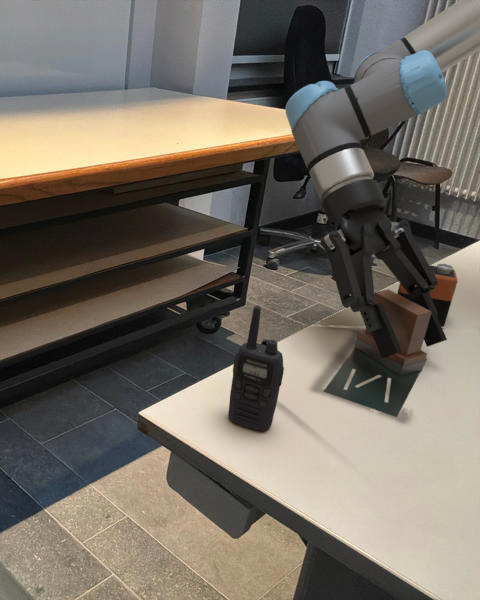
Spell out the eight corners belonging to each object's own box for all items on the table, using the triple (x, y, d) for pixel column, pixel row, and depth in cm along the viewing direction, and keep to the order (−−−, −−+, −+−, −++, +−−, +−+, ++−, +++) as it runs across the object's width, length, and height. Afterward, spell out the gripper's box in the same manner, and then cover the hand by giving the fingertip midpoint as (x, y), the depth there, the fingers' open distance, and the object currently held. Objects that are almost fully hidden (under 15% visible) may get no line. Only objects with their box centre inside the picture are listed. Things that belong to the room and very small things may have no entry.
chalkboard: (356, 342, 96) (358, 335, 96) (431, 365, 91) (434, 357, 91) (314, 399, 83) (315, 391, 83) (399, 430, 78) (401, 422, 78)
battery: (441, 336, 99) (460, 274, 94) (391, 327, 101) (407, 265, 96) (439, 323, 102) (457, 262, 98) (391, 314, 104) (406, 255, 100)
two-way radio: (222, 421, 79) (238, 307, 72) (234, 402, 82) (251, 291, 76) (268, 437, 76) (290, 320, 70) (279, 417, 80) (301, 304, 73)
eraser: (354, 346, 93) (367, 291, 89) (375, 341, 94) (389, 286, 91) (400, 376, 86) (416, 317, 83) (422, 370, 88) (439, 312, 84)
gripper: (383, 195, 99) (447, 342, 93) (272, 210, 92) (335, 371, 86) (421, 169, 92) (493, 326, 86) (306, 183, 85) (376, 356, 79)
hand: (414, 348), depth 86 cm, fingers open, 7 cm apart
